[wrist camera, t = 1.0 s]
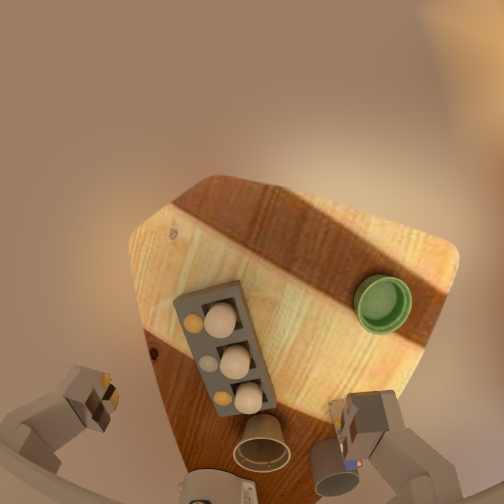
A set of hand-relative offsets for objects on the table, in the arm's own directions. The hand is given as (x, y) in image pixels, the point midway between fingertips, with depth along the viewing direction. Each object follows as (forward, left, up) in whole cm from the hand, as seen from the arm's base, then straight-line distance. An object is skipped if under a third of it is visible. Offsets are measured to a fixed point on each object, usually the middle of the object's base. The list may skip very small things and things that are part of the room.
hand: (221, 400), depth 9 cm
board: (-15, +9, -36) cm, 40 cm away
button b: (-15, +7, -33) cm, 37 cm away
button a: (-22, +7, -33) cm, 40 cm away
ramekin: (-13, -16, -36) cm, 42 cm away
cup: (-44, -3, -36) cm, 57 cm away
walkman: (-34, -6, -36) cm, 50 cm away
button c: (-8, +7, -33) cm, 35 cm away
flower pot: (-32, +8, -36) cm, 49 cm away
